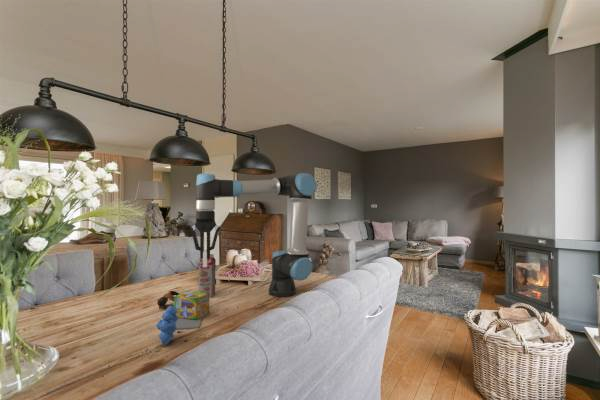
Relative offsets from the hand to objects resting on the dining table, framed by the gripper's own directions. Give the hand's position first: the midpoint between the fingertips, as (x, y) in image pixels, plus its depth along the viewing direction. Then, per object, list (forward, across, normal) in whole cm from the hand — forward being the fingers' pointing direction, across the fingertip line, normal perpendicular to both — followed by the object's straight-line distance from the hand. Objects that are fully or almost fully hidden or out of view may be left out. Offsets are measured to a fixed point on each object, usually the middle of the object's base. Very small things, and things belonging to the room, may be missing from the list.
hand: (205, 266), depth 122 cm
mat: (+22, +8, 0) cm, 24 cm away
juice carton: (+22, +2, -33) cm, 40 cm away
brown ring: (+22, +18, -18) cm, 34 cm away
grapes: (+22, +11, +18) cm, 31 cm away
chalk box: (+17, 0, -2) cm, 17 cm away
